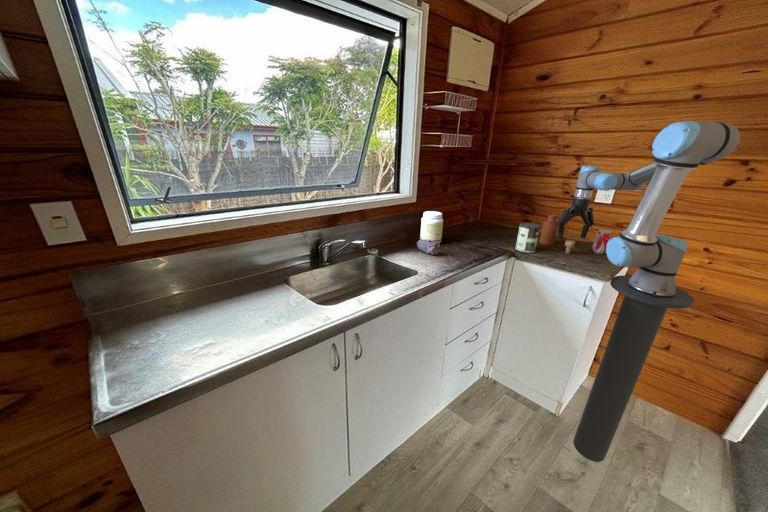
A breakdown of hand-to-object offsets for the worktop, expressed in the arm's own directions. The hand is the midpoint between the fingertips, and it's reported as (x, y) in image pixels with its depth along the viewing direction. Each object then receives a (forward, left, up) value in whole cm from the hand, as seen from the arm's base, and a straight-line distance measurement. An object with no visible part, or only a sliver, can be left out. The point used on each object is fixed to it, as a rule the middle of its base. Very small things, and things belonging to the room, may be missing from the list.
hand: (571, 238), depth 160 cm
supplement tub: (-46, +57, -9) cm, 74 cm away
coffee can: (-13, +17, -9) cm, 23 cm away
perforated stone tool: (-61, +46, -9) cm, 77 cm away
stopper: (0, 0, -9) cm, 9 cm away
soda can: (+16, -10, -9) cm, 21 cm away
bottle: (+9, +15, -9) cm, 19 cm away
